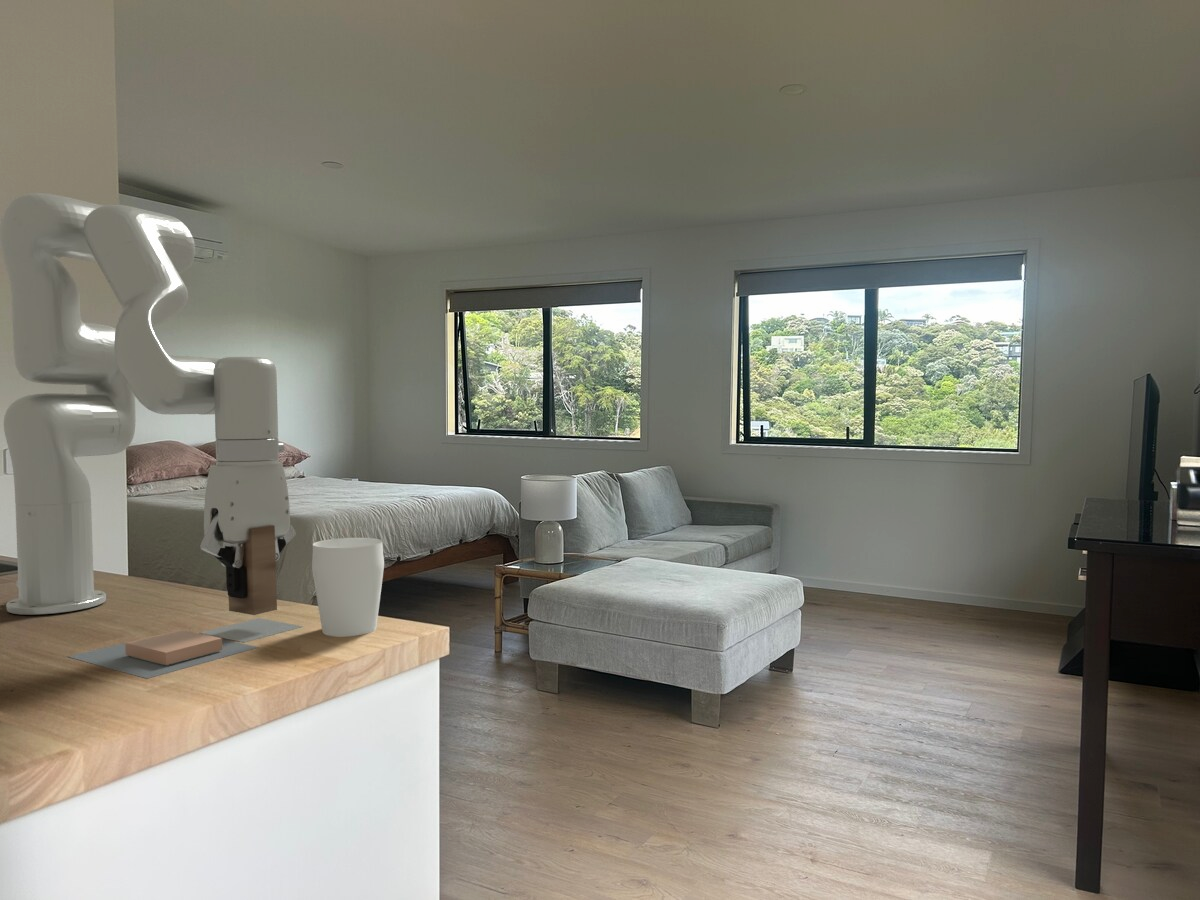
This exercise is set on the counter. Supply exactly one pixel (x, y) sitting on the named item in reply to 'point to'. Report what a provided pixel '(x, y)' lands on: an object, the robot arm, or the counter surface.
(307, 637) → the counter surface
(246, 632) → the coaster
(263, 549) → the bar
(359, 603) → the cup
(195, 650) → the tile
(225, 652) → the mat
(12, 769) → the counter surface
